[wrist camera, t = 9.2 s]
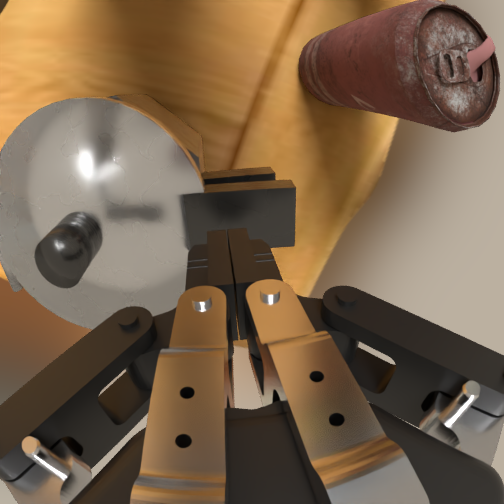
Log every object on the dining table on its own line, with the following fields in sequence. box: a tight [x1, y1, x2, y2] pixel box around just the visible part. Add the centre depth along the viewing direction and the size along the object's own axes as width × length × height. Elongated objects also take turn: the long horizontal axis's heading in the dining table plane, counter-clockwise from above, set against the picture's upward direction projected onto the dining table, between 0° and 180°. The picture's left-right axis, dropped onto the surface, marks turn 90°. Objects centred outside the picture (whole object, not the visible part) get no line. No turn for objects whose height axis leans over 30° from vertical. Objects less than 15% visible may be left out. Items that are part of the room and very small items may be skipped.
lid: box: [0, 97, 296, 329], centre depth 13 cm, size 14×18×4 cm
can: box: [299, 0, 500, 132], centre depth 13 cm, size 6×6×14 cm
